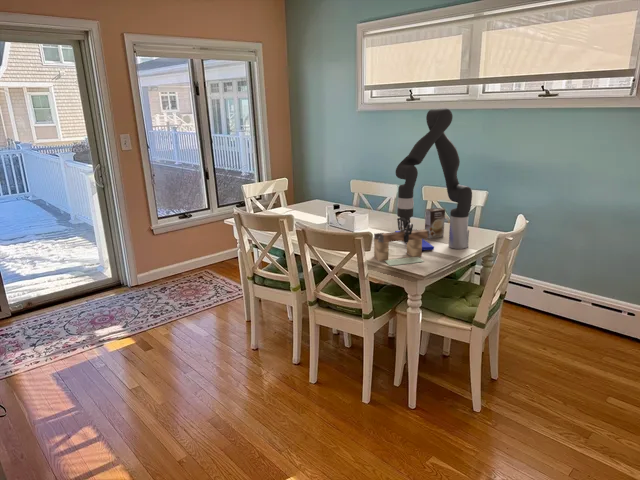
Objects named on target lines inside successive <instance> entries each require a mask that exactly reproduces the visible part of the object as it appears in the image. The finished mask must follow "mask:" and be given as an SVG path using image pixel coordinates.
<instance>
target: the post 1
mask: <svg viewBox="0 0 640 480" xmlns="http://www.w3.org/2000/svg"><path fill="white" fill-rule="evenodd" d="M380 233H381V232H378V233H377V232H376V233H373V234H374V235H373V240H374V242H373V243H374V244H373V247H374V248H373V255H374V256H373V257H374V258H375V259H376V260H377V261H378V262H383V261H384V262H385V260H389V255H390V254H389V246H390V242H384V243H382V242H381V241H380Z"/></svg>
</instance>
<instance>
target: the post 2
mask: <svg viewBox="0 0 640 480" xmlns="http://www.w3.org/2000/svg"><path fill="white" fill-rule="evenodd" d="M413 230H418V229H412V231H413ZM422 251H423V250H422V239H414V240H409V241H408V242H407V243H406V254H407V255H409V256H410V257H422V256H423V255H422V253H423V252H422Z"/></svg>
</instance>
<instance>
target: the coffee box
mask: <svg viewBox="0 0 640 480" xmlns="http://www.w3.org/2000/svg"><path fill="white" fill-rule="evenodd" d="M445 217H446V209H444V208H440V207H434V208H426V209H425V217H424V218H425V219H424V220H425V221H424V229H426V230H428V231H429V238H428V239H437V238H444V233H445V232H444V231H445Z"/></svg>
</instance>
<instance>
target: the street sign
mask: <svg viewBox="0 0 640 480" xmlns="http://www.w3.org/2000/svg"><path fill="white" fill-rule="evenodd" d="M394 232H400V230H395V231H394ZM406 244H407V242H406ZM432 250H433V251H434V250H435V246H433V245H432V244H431V243H430V242H428V241H426V240H425V238H424V239H422V251H432Z"/></svg>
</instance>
